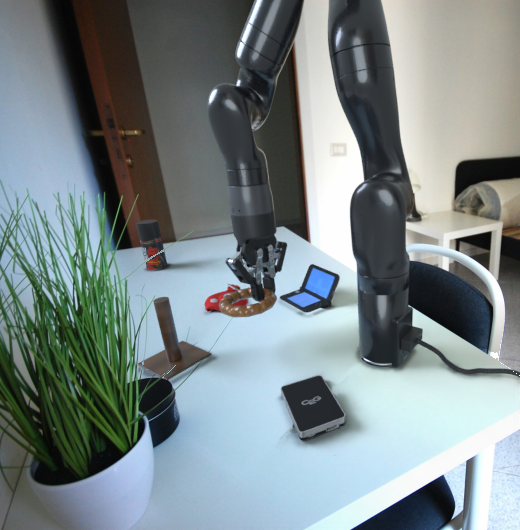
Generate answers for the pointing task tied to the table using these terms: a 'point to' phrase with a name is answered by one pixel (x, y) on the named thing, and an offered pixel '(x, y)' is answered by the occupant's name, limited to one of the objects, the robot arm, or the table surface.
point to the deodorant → (151, 244)
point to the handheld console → (314, 290)
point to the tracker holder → (214, 299)
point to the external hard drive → (312, 407)
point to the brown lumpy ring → (247, 310)
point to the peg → (171, 346)
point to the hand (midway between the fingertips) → (264, 297)
